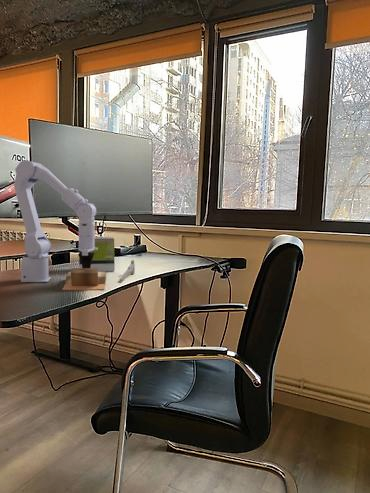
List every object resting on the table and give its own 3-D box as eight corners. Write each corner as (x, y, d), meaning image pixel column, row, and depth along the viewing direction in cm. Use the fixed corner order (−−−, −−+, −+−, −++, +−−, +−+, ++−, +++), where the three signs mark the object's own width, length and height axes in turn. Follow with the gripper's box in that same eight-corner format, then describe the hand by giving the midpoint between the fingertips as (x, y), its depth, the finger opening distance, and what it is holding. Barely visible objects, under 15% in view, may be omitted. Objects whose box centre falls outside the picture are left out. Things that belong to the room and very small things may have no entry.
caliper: (132, 274, 169) (132, 259, 168) (134, 274, 169) (134, 259, 168) (118, 283, 149) (118, 267, 148) (121, 283, 149) (121, 267, 148)
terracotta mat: (62, 290, 134) (62, 289, 134) (65, 284, 142) (65, 283, 142) (104, 289, 136) (104, 288, 136) (105, 284, 144) (105, 283, 144)
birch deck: (65, 284, 142) (65, 276, 142) (69, 279, 152) (69, 271, 152) (105, 284, 145) (105, 276, 144) (106, 279, 155) (106, 271, 154)
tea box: (113, 268, 181) (113, 236, 179) (114, 272, 171) (114, 238, 170) (79, 268, 177) (79, 235, 176) (78, 272, 168) (78, 238, 166)
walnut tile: (72, 281, 141) (71, 285, 139) (71, 268, 137) (70, 272, 135) (98, 281, 142) (97, 285, 140) (97, 268, 139) (97, 272, 137)
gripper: (96, 237, 139) (96, 275, 140) (98, 234, 153) (98, 269, 154) (75, 237, 138) (75, 275, 139) (80, 234, 152) (80, 269, 153)
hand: (86, 272), depth 147 cm, fingers closed
